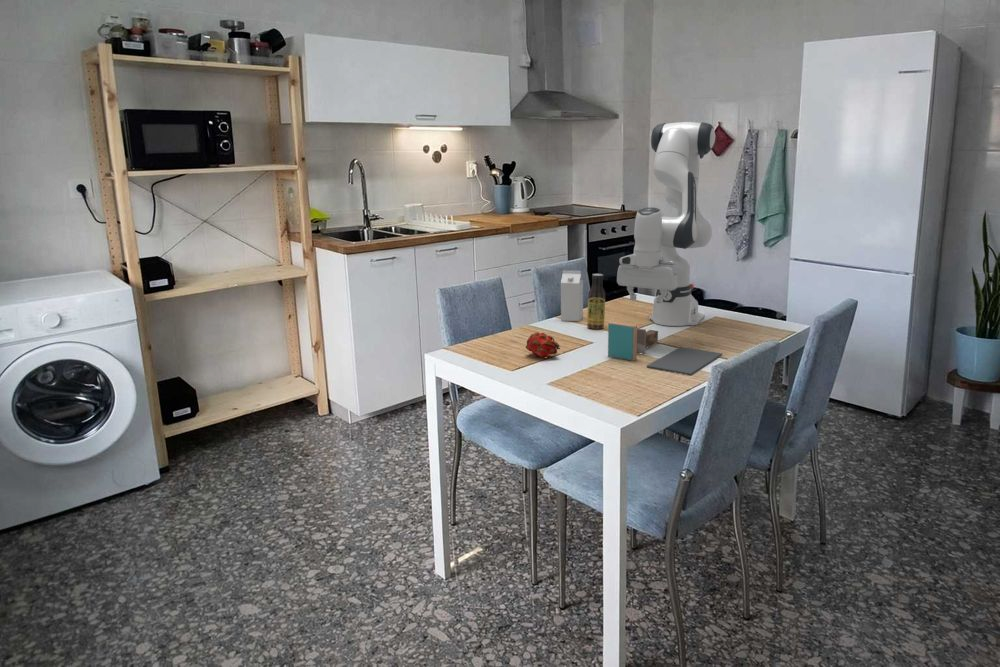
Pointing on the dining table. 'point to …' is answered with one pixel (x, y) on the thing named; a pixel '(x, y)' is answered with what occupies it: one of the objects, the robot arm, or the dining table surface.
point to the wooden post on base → (645, 339)
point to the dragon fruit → (542, 345)
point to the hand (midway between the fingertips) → (646, 301)
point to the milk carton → (571, 296)
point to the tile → (622, 340)
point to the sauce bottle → (596, 303)
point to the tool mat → (685, 360)
